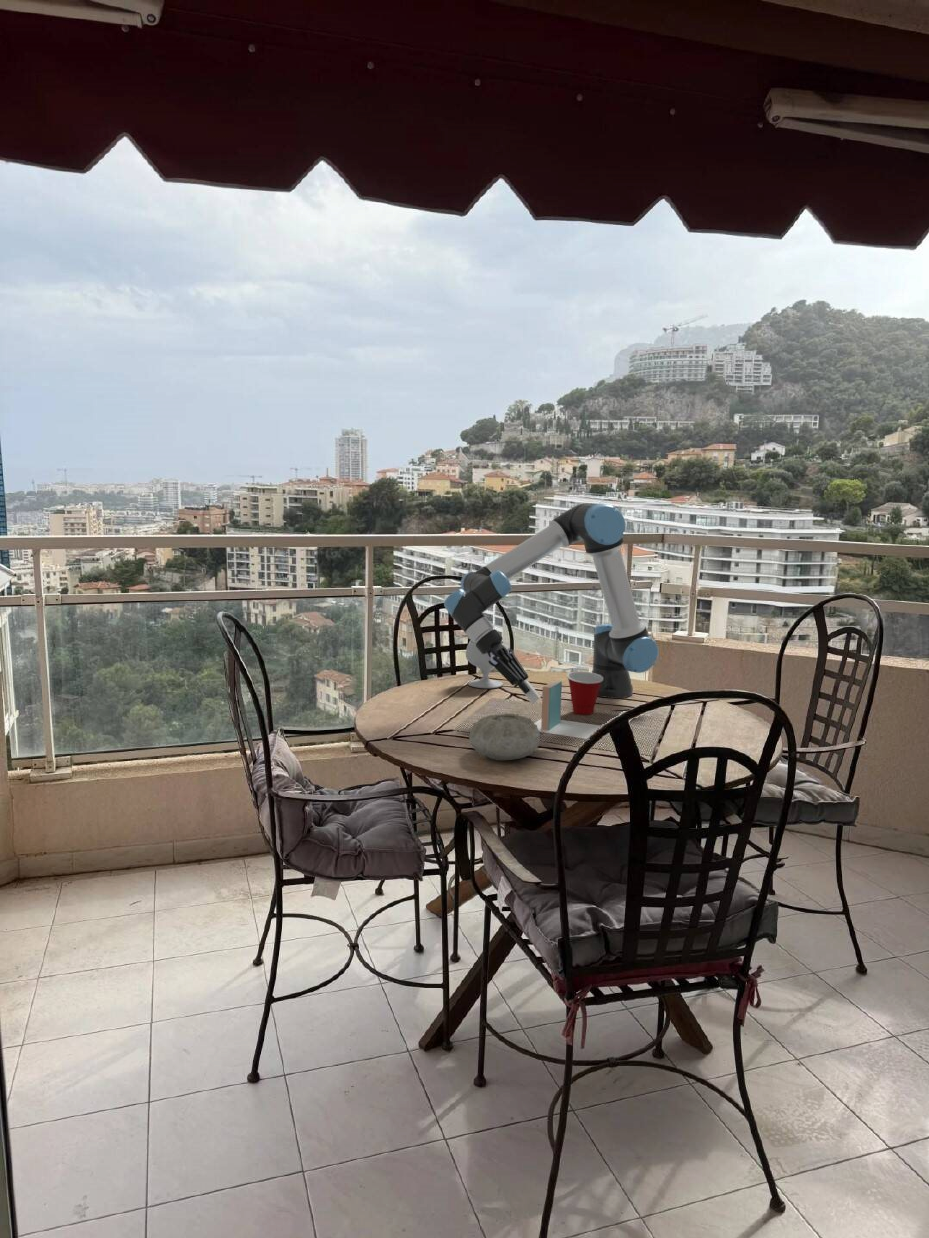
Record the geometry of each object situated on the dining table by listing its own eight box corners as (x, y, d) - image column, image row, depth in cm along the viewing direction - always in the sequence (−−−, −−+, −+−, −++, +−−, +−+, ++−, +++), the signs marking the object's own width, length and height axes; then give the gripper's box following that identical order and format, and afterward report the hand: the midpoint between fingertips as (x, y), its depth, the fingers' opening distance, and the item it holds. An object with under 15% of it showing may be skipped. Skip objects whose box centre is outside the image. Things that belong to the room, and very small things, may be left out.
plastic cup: (576, 720, 237) (578, 680, 235) (558, 711, 247) (560, 672, 245) (608, 717, 241) (610, 678, 239) (590, 708, 251) (591, 670, 249)
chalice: (506, 690, 271) (507, 646, 269) (464, 689, 272) (465, 645, 269) (505, 680, 285) (506, 638, 283) (465, 679, 286) (466, 637, 283)
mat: (524, 731, 226) (525, 729, 225) (542, 719, 238) (542, 717, 238) (594, 742, 217) (594, 740, 217) (609, 728, 229) (609, 726, 229)
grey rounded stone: (455, 756, 203) (455, 718, 201) (492, 739, 218) (493, 703, 216) (517, 771, 193) (518, 730, 192) (552, 752, 208) (553, 714, 206)
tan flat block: (541, 728, 226) (542, 686, 224) (552, 721, 234) (553, 680, 232) (549, 730, 225) (550, 687, 223) (560, 722, 233) (561, 681, 231)
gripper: (485, 641, 242) (536, 703, 237) (466, 648, 230) (518, 713, 225) (502, 625, 238) (554, 687, 234) (483, 631, 227) (537, 697, 222)
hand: (536, 700), depth 230 cm, fingers closed
